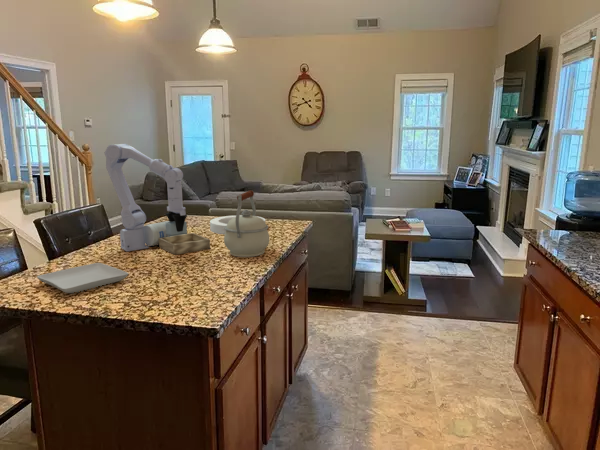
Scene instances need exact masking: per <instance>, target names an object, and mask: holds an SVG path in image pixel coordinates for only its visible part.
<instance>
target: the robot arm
mask: <svg viewBox="0 0 600 450" xmlns="http://www.w3.org/2000/svg"><path fill="white" fill-rule="evenodd" d="M104 156H105V166H106V167H105V168H106V171H107V173H108V176H109V179H110V182H111V183H112V186H113V187H114V191H115V193H116V195H117V198H118V200H119V202H120V205H121V208H122V209H121V211H120V216H121V224H122V225H123V227H124V228H123V229H120V231H119V238H120V249H122V250H124V251H125V252H131V251H132V252H133V251H136V250H137V251H138V250H139V251H140V250H145V249H149V248H150V246H147V245H146V244H145V236H144V226H145V222H146V221H147V215H146V213H145V212H144V211H143V210H142V207H141V206H140V205H138V204H137V203H136V201H135V199H134V196H133V193H132V191H131V189H130V187H129V185H128V181H127V179H126V177H125V174H124V171H123V169H122V168H123V166H124V164H125V163H126V162H127V161H128V160H129V159H133V160H134V161H136V162H138V163H140V164H142V165H144V166H147V167H148V169H149V171H150V172H152V173H154V174H155V175H157V176H159V177H161V178H162V179H163V180H164V181H165V183H166V186H167V202H168V203H167V204H168V206H166V211H167V212H166V213H165V215H166V217H167V219H168V221H169V222H172V221H175V224H176V229H177V232H180V231H183V226H184V222H186V219H187V218H188V214H186V207H185V206H184V205H183V203H184V202H183V187H182V181H183V179H184V173H183V170H181V168H179V167H174V166H173V165H172V164H167V162H165V161H164V160H163V159H162V158H155V159H153V158H151V157H149V156H148V155H146V154H144V153H143V152H141V151H140V150H138V149H136V148H135V147H133V146H131V145H129V144H127V143H120V144H119V143H117V144H115V143H111V144H109V145H107V147H106V149H105V150H104Z"/></svg>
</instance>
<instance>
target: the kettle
mask: <svg viewBox="0 0 600 450" xmlns="http://www.w3.org/2000/svg"><path fill="white" fill-rule="evenodd" d="M254 195H255V193H254V191H253V190H248V191H245V192H243V193H240V194H238V195H237V196H236V200H237V209H236V217H235V218H233V219H231V220H230V221H229V222H228V224H227V226H225V230H226V232H225V234H224V235H223V236H224V237H223V243H224V246H225V247H226V248H227V250H229V254H230V255H231V256H234V257H239V258H252V257H253V258H254V257H259V256H261V255H263V254H264V253H265V249H266V248H267V247H268V246H269V243H270V234H269V230H268V229H269V225H268V224H267V223H266V220H265V221H264V220H263V219H261V218H259V217H260V216H258V217H256V216H257V212H256V210H257V209H256V205H255V202H254ZM247 199H249V202H250V205H251V208H252V209H251V211H252V213H251V211H250V210H248V209H245V210H243V211H242V212H241V209H242V203H243V201H245V200H247ZM240 215H242V216H240Z"/></svg>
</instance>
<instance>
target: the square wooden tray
mask: <svg viewBox="0 0 600 450" xmlns="http://www.w3.org/2000/svg"><path fill="white" fill-rule="evenodd" d="M158 247H159V248H160V249H162V250H164V251H166V252H167V253H170V254H172V255H173V256H176V255H181V254H182V255H183V254H186V253H187V254H188V253H193V252H200V251H205V250H209V249H211V239H210V238H207V237H204V236H202V235H199V234H197V233H195V232H191V233H187V234H183V235H176V236H170V237H163V238H159V245H158Z"/></svg>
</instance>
